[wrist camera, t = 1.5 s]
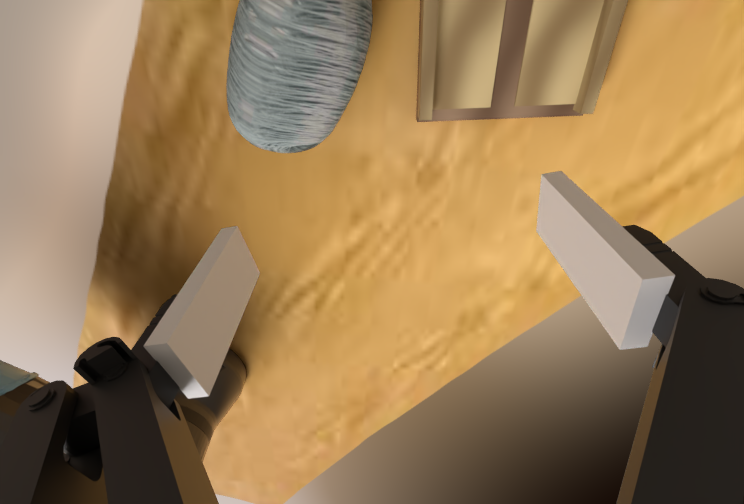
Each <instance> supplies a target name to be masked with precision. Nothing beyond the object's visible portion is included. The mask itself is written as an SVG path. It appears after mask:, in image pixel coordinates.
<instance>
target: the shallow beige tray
mask: <svg viewBox="0 0 744 504" xmlns="http://www.w3.org/2000/svg"><path fill="white" fill-rule="evenodd" d="M627 2H628V0H420V21H419V52H418V82H417V113H416V119H417V122H429V121H454V120H479V119H504V118H529V117H555V116H580V115H583V114H593V112H594V109H595V106H596V103H597V100H598V96H599V93H600V90H601V87H602V83H603V80H604V77H605V74H606V70H607V67H608V64H609V61H610V57H611V54H612V51H613V48H614V44H615V41H616V38H617V35H618V32H619V28H620V25H621V22H622V19H623V15H624V12H625V9H626V6H627Z"/></svg>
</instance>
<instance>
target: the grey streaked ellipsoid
mask: <svg viewBox="0 0 744 504" xmlns="http://www.w3.org/2000/svg"><path fill="white" fill-rule="evenodd" d="M372 18H373V15H372V0H240V1H239V5H238V8H237V12H236V17H235V21H234V26H233V31H232V36H231V44H230V52H229V61H228V71H227V103H228V111H229V115H230V118H231V120H232V123H233V125H234V126H235V128H236V130H237V131H238V132H239V133H240V134H241V135H242V136H243V137H244V138H245V139H246V140H247V141H249V142H250V143H251V144H253V145H255V146H256V147H259V148H261V149H265V150H269V151H274V152H279V153H296V152H301V151H305V150H308V149H311V148H313V147H315V146H317V145H318V144H320V143H321V142H322V141H323V140H324V139H325V138H326V137H327V136H329V135H330V133H331V132H332V131H333V129H334V128H335V126H336V124H337V123H338V121H339V120H340V118H341V116H342V114H343V112H344V110H345V108H346V106H347V104H348V103H349V101H350V99H351V97H352V95H353V92H354V90H355V88H356V85H357V82H358V79H359V76H360V74H361V72H362V69H363V66H364V62H365V58H366V54H367V51H368V47H369V43H370V36H371V30H372Z"/></svg>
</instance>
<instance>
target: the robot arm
mask: <svg viewBox="0 0 744 504" xmlns="http://www.w3.org/2000/svg"><path fill="white" fill-rule="evenodd" d="M536 231H537V233H538V234H539V235H540V237H541V238H542V240H543V241H544V243H545V244H546V245H547V247H548V248H549V250H550V251H551V253H552V254H553V255H554V257H555V258H556V260H557V261H558V263H559V264H560V265H561V267H562V268H563V270H564V271H565V272H566V274H567V275H568V277H569V278H570V280H571V281H572V282H573V284H574V285H575V287H576V288H577V290H578V291H579V292H580V294H581V295H582V297H583V298H584V300H585V301H586V302H587V304H588V305H589V306H590V308H591V309H592V311H593V312H594V313H595V315H596V317H597V318H598V319H599V321H600V322H601V324H602V325H603V326H604V328H605V329H606V331H607V332H608V334H609V335H610V337H611V338H612V339H613V341H614V342H615V344H616V345H617V346H618V348H619V349H620V350H621V349H631V348H640V347H647V346H648V344H649V341H650V339H651V336H652V334H653V333H654V334H655V336H656V337H657V338H658V339H659V340H660V342H661V343H662V345H661V347H660V350H659V352H658V355H657V357H656V359H655V361H654V364H653V366H652V367H653V368H654V371H653V374H652V378H651V381H650V385H649V389H648V392H647V396H646V399H645V403H644V406H643V410H642V414H641V417H640V421H639V424H638V428H637V432H636V435H635V439H634V442H633V446H632V450H631V454H630V457H629V460H628V464H627V467H626V471H625V475H624V478H623V482H622V485H621V489H620V493H619V496H618V500H617V503H616V504H743V496H744V289H743V288H742V287H740V286H738V285H736V284H733V283H730V282H727V281H724V280H719V279H711V278H705V277H704V276H702V274H700V273H699V272H698V271H697V270H696V269H694V268H693V267H692V266H691V265H689V264H688V263H687V262H686V261H684V259H682V258H681V257H680V256H679V255H678V254H676V253H675V252H674V251H673V252H672V250H671V248H669V247H668V246H667V245H666V244H665V243H664V244H663V243H662V241H661V240H660V239H659V238H657V237H656V236H655V235H654V234H653V233H651V232H650V231H647V230H645V229H643V228H641V227H638V226H636V225H630V226H623V227H622V226H621V225H620V224H619V223H618V222H616V221H615V220H614V219H613V218H612V217H611V216H610V215H609V214H608V213H607V212H606V211H604V210H603V209H602V208H601V207H600V206H599V205H598V204H597V203H596V202H595V201H593V200H592V199H591V198H590V197H589V196H588V195H587V194H586V193H585V192H584V191H583V190H581V189H580V188H579V187H578V186H577V185H576V184H575V183H574V182H573V181H572V180H571V179H569V178H568V177H567V176H566V175H565V174H564V173H563V172H562V171H558V172H552V173H546V174H541V185H540V196H539V207H538V218H537V229H536ZM259 275H260V272H259V270H258V268H257V266H256V263H255V261H254V259H253V257H252V255H251V253H250V251H249V249H248V247H247V245H246V243H245V241H244V238H243V236H242V234H241V232H240V230H239V228H238V226H234V227H228V228H222V229H221V230H220V232H219V233H218V235H217V236H216V238H215V239H214V241H213V242H212V244H211V245H210V247H209V248H208V250H207V251H206V253H205V254H204V256H203V257H202V259H201V260H200V262H199V263H198V265H197V266H196V268H195V269H194V271H193V272H192V274H191V275H190V277H189V278H188V280H187V281H186V283H185V284H184V286H183V287H182V289H181V290H180V292H179V293H178V294H175V295H173V296H172V297H171V298H170V299H169V300H167V301H166V302H165V303H164V304H163V305H162V306H161V308H160V309H159V311H158V312H157V314H156V315H155V316H156V317H154V318H153V320H152V321H151V322H150V326H148V327H147V328H146V330H145V331H144V333H143V334H142V335H141V337H140V338H139V340H138V341H137V343H136V344H135V346H134V347H133V348H132V350H130V349H129V348H128V347H127V345H126V344H125V343H124V342H123V341H122V340H121V339H120V338H118V337H111V338H106V339H104V340H101V341H99V342H97V343H95V344H94V345H92V346H91V347H89V348H88V349H87V350H86V351H84V352H83V353H82V354H81V355H80V356H79V358H78V359H77V360H76V362H75V365H74V370H75V371H77V372H78V373H79V374H80V375H81V376H82V377H83V378H84V379H85V380H86V381H87V382H89V383H86V384H84V385H81V386H79V387H76V388H73V389H72V388H71V387H70V386H69V385H68V384H66V383H65V382H64V381H54V382H51V383H50V382H48V381H46V380H44V379H41V378H40V377H38V374H37V373H35V372H33V373H29V372H27V371H25V370H22V369H20V368H18V367H15V366H13V365H10V364H8V363H6V362H3V361H1V360H0V504H219V503H218V501H217V498H216V496H215V493H214V491H213V488H212V486H211V483H210V480H209V478H208V475H207V473H206V470H205V468H204V465H203V463H202V462H203V459H204V457H205V454H206V451H207V448H208V445H209V443H210V440H211V437H212V435H213V432H214V430H215V428H216V427H217V426H218V424H219V423H220V422H221V420H222V419H223V418H224V416H225V415H226V414H227V412H228V411H229V410H230V408H231V407H232V405H233V404H234V403H235V401H236V400H237V399H238V398H239V396H240V394H241V392H242V389H243V386H244V383H245V380H246V369H245V367H244V364H243V363H242V361H241V360H240V358H239V357H238V356H237V355H236V354H235V353H234V352H233V351H231V350H230V349H229V347H230V345H231V342H232V340H233V337H234V335H235V333H236V330H237V328H238V325H239V323H240V320H241V318H242V316H243V313H244V311H245V308H246V306H247V304H248V301H249V299H250V296H251V294H252V292H253V289H254V287H255V284H256V282H257V279H258V277H259Z"/></svg>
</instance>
